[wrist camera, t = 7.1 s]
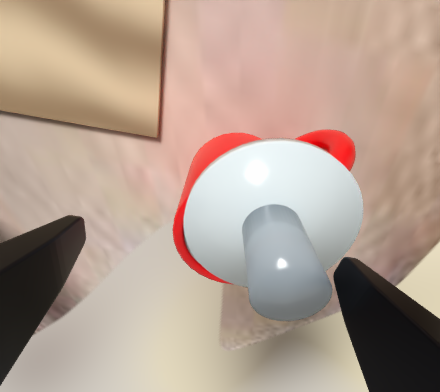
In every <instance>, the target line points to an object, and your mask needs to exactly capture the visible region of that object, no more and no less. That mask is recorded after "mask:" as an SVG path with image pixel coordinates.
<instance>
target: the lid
mask: <svg viewBox="0 0 440 392" xmlns="http://www.w3.org/2000/svg"><path fill="white" fill-rule="evenodd" d="M362 218H363V200H362V195H361V191H360V189H359V186H358V184H357V182H356V180H355V179H354V177H353V175H352V174H351V173H350V172H349V171H348V169H347V168H346V167H345V166H344V165H343V164H342V163H340V162H339V161H338V160H337V159H336V158H335V157H333V156H332V155H331V154H330V153H328V152H327V151H325V150H323V149H322V148H320V147H318V146H315V145H313V144H310V143H308V142H304V141H300V140H296V139H287V138H268V139H262V140H256V141H252V142H249V143H245V144H242V145H240V146H237V147H235V148H233V149H231V150H229V151H227V152H226V153H224V154H222V155H221V156H219V157H218V158H217V159H215V160H214V161H213V162H211V163H210V164H209V165H208V166H207V167H206V168H205V169H204V170H203V171H202V173H201V174H200V176H199V177H198V178H197V180H196V181H195V183H194V185H193V187H192V189H191V191H190V194H189V197H188V200H187V203H186V207H185V213H184V226H183V227H184V234H185V238H186V241H187V244H188V247H189V249H190V251H191V253H192V254H193V255H194V257H195V258H196V260H197V261H198V262H199V263H200V264H201V265H202V266H203V267H204V268H205V269H206V270H208V271H209V272H210V273H212V274H213V275H215V276H216V277H218V278H220V279H222V280H224V281H227V282H229V283H232V284H235V285H239V286H243V287H248V291H249V300H250V304H251V306H252V307H253V309H254V310H255V311H256V312H257V313H258V314H260V315H262V316H264V317H266V318H269V319H272V320H277V321H294V320H300V319H304V318H306V317H309V316H311V315H314V314H315V313H317V312H319V311H320V310H321V309H323V308H324V307H325V306H326V305H327V303H328V302H329V300H330V298H331V295H332V285H331V283H330V281H329V278H328V276H327V274H326V272H325V271H326V270H328V269H329V268H330V267H332V266H333V265H334V264H336V263H337V262H338V261H339V260H340V259H341V258H342V257H343V256H344V255H345V253H346V252H347V251H348V250H349V249H350V247H351V246H352V244H353V243H354V241H355V239H356V237H357V235H358V233H359V230H360V227H361V224H362Z"/></svg>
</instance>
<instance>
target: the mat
mask: <svg viewBox="0 0 440 392" xmlns="http://www.w3.org/2000/svg"><path fill="white" fill-rule="evenodd" d="M164 14H165V0H0V110H1V111H7V112H12V113H18V114H24V115H30V116H35V117H41V118H47V119H52V120H58V121H64V122H70V123H75V124H81V125H87V126H92V127H98V128H104V129H110V130H115V131H121V132H127V133H132V134H138V135H144V136H150V137H155V138H157V137H158V135H159V115H160V95H161V75H162V54H163V34H164Z"/></svg>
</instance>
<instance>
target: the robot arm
mask: <svg viewBox="0 0 440 392" xmlns="http://www.w3.org/2000/svg"><path fill="white" fill-rule="evenodd" d="M85 240H86V233H85V224H84V219H83V218H82V217H80V216H73V215H68V216H65V217H63V218H61V219H58V220H56V221H53V222H51V223H48V224H46V225H44V226H41V227H39V228H36V229H34V230H32V231H29V232H27V233H24V234H22V235H19V236H17V237H15V238H12V239H10V240H7V241H5V242H3V243H0V385H1V384H2V382H3V381H4V379H5V377H6V376H7V374H8V373H9V371H10V370H11V368H12V366H13V365H14V363H15V362H16V360H17V359H18V357H19V355H20V354H21V352H22V351H23V349H24V347H25V346H26V344H27V343H28V341H29V340H30V338H31V337H32V335H33V333H34V332H35V330H36V329H37V327H38V326H39V324H40V322H41V321H42V319H43V318H44V316H45V315H46V313H47V311H48V310H49V308H50V307H51V305H52V304H53V302H54V300H55V299H56V297H57V296H58V294H59V292H60V291H61V289H62V287H63V286H64V284H65V282H66V280H67V278H68V276H69V274H70V272H71V270H72V268H73V266H74V264H75V262H76V260H77V258H78V256H79V254H80V252H81V250H82V248H83V246H84V243H85ZM333 277H334V283H335V287H336V291H337V295H338V299H339V303H340V307H341V311H342V315H343V318H344V322H345V325H346V328H347V330H348V333H349V336H350V339H351V342H352V345H353V347H354V350H355V353H356V356H357V359H358V362H359V364H360V367H361V370H362V373H363V376H364V379H365V381H366V384H367V387H368V390H369V392H440V319H439V318H438V317H436V316H435V315H434V314H432V313H431V312H429V311H428V310H427V309H425V308H424V307H423V306H421V305H420V304H418V303H417V302H416V301H414V300H413V299H412V298H410V297H409V296H407V295H406V294H405V293H403V292H402V291H400V290H399V289H398V288H397V287H395V286H394V285H392V284H391V283H390V282H388V281H387V280H386V279H384V278H383V277H381V276H380V275H379V274H377V273H376V272H375V271H373V270H372V269H371V268H369V267H368V266H366V265H365V264H364V263H362V262H361V261H360V260H358V259H356V258H351V257H344V258H343V259H342V260H341V262H340V264H339V265H338V267H337V269H336V270H335V272H334V276H333Z"/></svg>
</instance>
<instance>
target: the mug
mask: <svg viewBox="0 0 440 392" xmlns="http://www.w3.org/2000/svg"><path fill="white" fill-rule="evenodd" d="M256 140H262V139H260V138H258V137H256V136H253V135H250V134H245V133H229V134H224V135H221V136H218V137H216V138H213V139H212V140H210V141H209V142H207V143H206V144H205V145H204V146H203V147H201V148H200V149H199V151H198V152H197V154H196V155H195V157H194V159H193V161H192V164H191V166H190V170H189V173H188V176H187V179H186V182H185V186H184V189H183V192H182V195H181V199H180V202H179V205H178V208H177V212H176V215H175V218H174V224H173V238H174V243H175V246H176V249H177V251H178V253H179V254H180V256H181V258H182V259H183V260H184V261H185V262H186V264H187V265H188V266H189V267H190V268H192V269H193V270H195V271H196V272H197V273H199V274H200V275H203V276H205V277H207V278H209V279H211V280H215V281H218V282H221V283H227V284H232V283H229V282H227V281H224V280H222V279H220V278H218V277H216V276H215V275H213V274H212V273H210V272H209V271H208V270H206V269H205V268H204V267H203V266H202V265H201V264H200V263H199V262H198V261H197V260H196V258H195V257H194V255H193V254H192V253H191V251H190V249H189V247H188V244H187V241H186V238H185V234H184V227H183V226H184V213H185V207H186V203H187V200H188V197H189V194H190V191H191V189H192V187H193V185H194V183H195V181H196V180H197V178H198V177H199V176H200V174H201V173H202V171H203V170H204V169H205V168H206V167H207V166H208V165H209V164H210V163H211V162H213V161H214V160H215V159H217V158H218V157H219V156H221V155H222V154H224V153H226V152H227V151H229V150H231V149H233V148H235V147H237V146H240V145H242V144H245V143H249V142H252V141H256ZM296 140H300V141H304V142H308V143H310V144H313V145H315V146H318V147H320V148H322V149H323V150H325V151H327V152H328V153H330V154H331V155H332V156H333V157H335V158H336V159H337V160H338V161H339V162H340V163H342V164H343V165H344V166H345V167H346V168H347V169H348V171H349V172H350V170H351V168H352V166H353V164H354V161H355V146H354V143H353V141H352V139H351V138H349V137H348V136H347V135H346V134H345V133H343V132H341V131H337V130H318V131H314V132H310V133H307V134H305V135H302V136H300V137H298V138H296Z"/></svg>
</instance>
